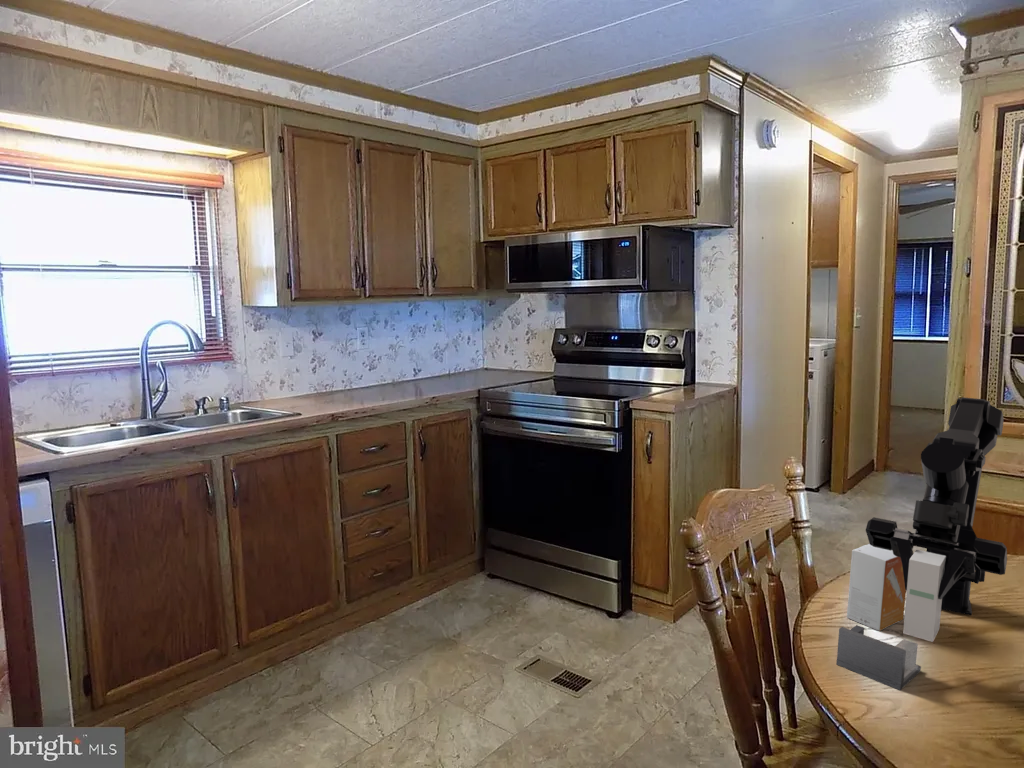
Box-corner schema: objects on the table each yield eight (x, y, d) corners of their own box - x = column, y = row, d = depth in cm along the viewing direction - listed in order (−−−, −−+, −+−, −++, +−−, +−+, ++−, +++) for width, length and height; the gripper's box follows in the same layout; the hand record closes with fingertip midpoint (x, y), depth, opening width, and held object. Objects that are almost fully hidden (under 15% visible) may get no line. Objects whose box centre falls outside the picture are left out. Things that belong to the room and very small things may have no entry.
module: (910, 621, 112) (916, 549, 111) (939, 629, 110) (946, 555, 108) (903, 633, 109) (909, 559, 107) (932, 642, 106) (939, 566, 104)
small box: (880, 632, 123) (885, 560, 121) (845, 617, 128) (850, 549, 126) (904, 620, 127) (910, 551, 125) (870, 606, 132) (875, 540, 130)
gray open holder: (858, 647, 117) (861, 613, 117) (920, 671, 110) (923, 635, 109) (836, 664, 112) (838, 629, 111) (899, 690, 105) (903, 652, 104)
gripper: (872, 469, 115) (848, 554, 108) (1012, 491, 103) (995, 588, 96) (881, 503, 122) (859, 585, 115) (1013, 528, 110) (996, 621, 103)
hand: (922, 593), depth 107 cm, fingers closed on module, 4 cm apart
